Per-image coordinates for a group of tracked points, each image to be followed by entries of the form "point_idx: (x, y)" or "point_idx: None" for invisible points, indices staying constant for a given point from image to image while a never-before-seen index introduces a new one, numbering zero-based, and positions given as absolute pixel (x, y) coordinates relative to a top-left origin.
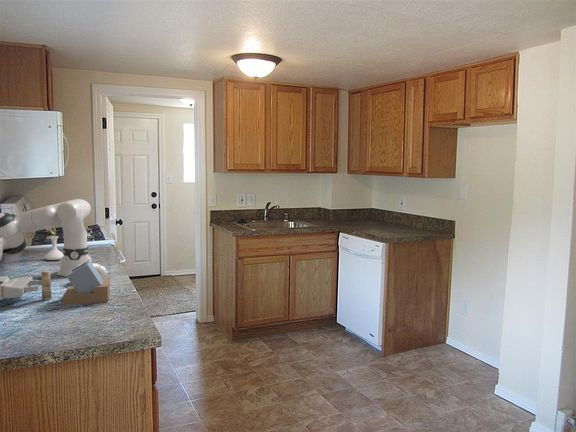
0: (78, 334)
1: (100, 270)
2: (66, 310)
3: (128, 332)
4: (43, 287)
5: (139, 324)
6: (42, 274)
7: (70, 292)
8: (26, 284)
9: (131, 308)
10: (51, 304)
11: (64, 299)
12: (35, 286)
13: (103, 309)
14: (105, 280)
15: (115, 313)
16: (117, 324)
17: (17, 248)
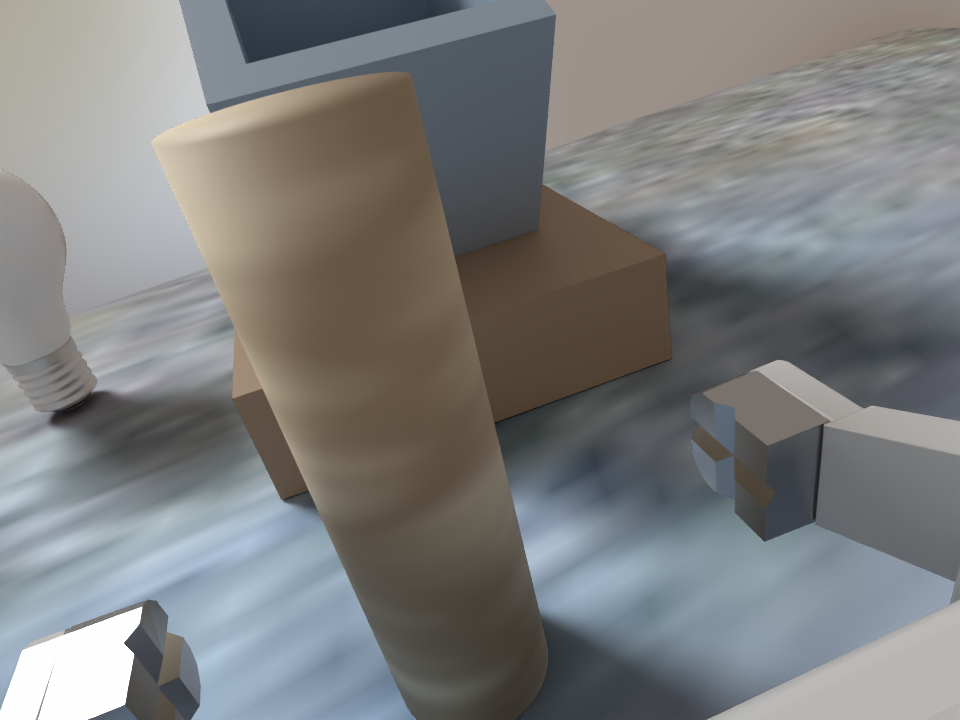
0: None
1: (27, 184)
2: (817, 270)
3: (926, 53)
4: (501, 469)
5: (811, 73)
6: (413, 156)
7: (527, 268)
8: (839, 668)
9: (603, 147)
10: None
11: (662, 297)
12: (790, 379)
13: (670, 183)
14: None
15: (715, 141)
16: (867, 88)
17: None
